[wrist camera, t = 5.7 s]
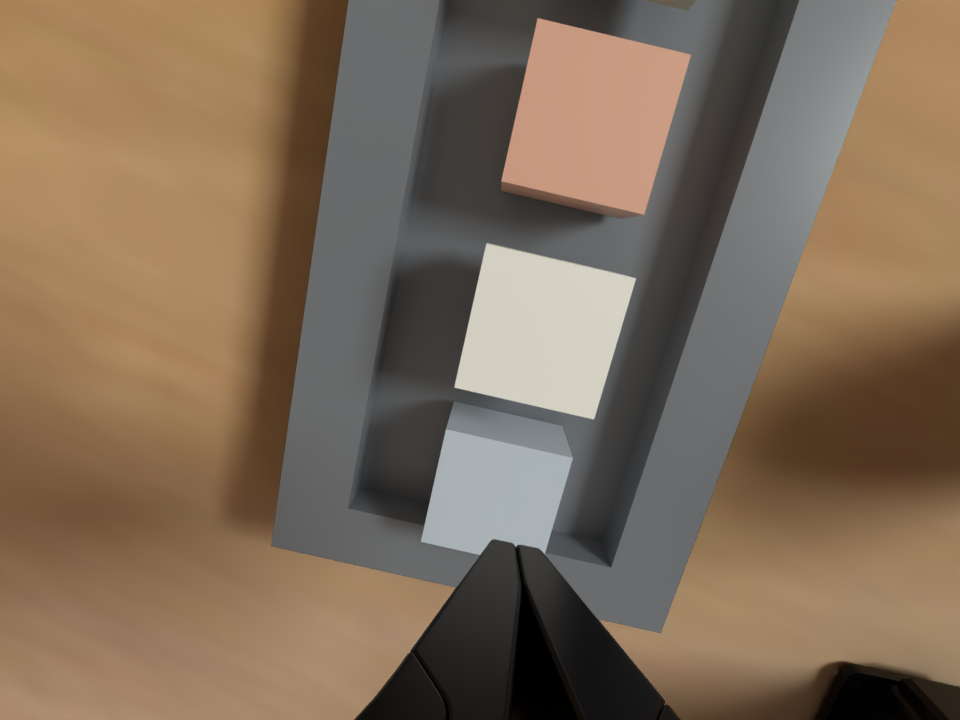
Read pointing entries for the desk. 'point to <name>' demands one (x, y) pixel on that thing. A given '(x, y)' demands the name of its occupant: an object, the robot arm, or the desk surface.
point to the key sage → (675, 3)
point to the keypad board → (565, 236)
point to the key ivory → (542, 330)
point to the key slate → (496, 480)
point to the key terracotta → (592, 120)
